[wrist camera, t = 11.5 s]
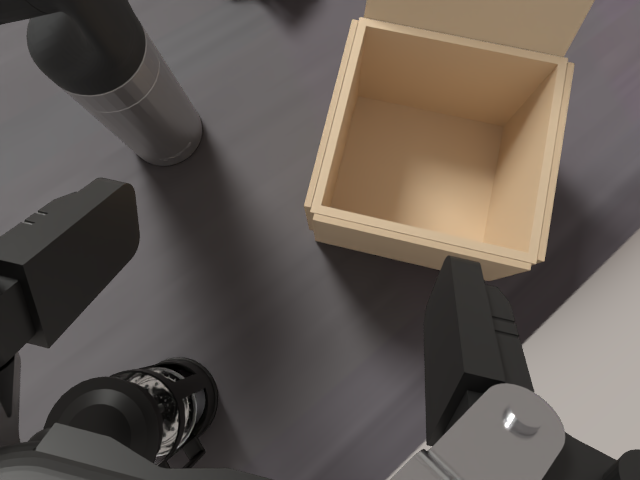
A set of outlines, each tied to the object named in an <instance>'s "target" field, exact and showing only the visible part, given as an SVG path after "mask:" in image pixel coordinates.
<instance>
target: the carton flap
mask: <svg viewBox="0 0 640 480" xmlns="http://www.w3.org/2000/svg"><path fill="white" fill-rule="evenodd" d="M594 1H595V0H367V2H366V8H365V14H364V18H369V19H374V20H379V21H384V22H389V23H394V24H400V25H405V26H410V27H415V28H420V29H425V30H430V31H435V32H440V33H445V34H450V35H455V36H460V37H465V38H470V39H475V40H480V41H485V42H490V43H496V44H501V45H506V46H511V47H516V48H521V49H526V50H531V51H536V52H541V53H546V54H551V55H556V56H561V57H564V55H565V54H566V52H567V50H568V48H569V46H570V44H571V43H572V41H573V39H574V37H575V35H576V34H577V32H578V30H579V28H580V26H581V24H582V23H583V21H584V19H585V17H586V15H587V14H588V12H589V10H590V8H591V6H592V4H593V3H594Z"/></svg>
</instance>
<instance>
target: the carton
mask: <svg viewBox="0 0 640 480" xmlns="http://www.w3.org/2000/svg"><path fill="white" fill-rule="evenodd" d="M567 62H568V58H564V57H559V56H554V55H549V54H544V53H539V52H534V51H529V50H524V49H518V48H513V47H508V46H503V45H498V44H493V43H488V42H483V41H478V40H473V39H468V38H463V37H458V36H453V35H448V34H443V33H438V32H433V31H428V30H423V29H417V28H412V27H407V26H402V25H397V24H392V23H387V22H382V21H377V20H372V19H367V18H362V17H360V18H359V22H358V20H353V19H352V23H351V26H350V30H349V34H348V38H347V42H346V46H345V50H344V53H343V57H342V61H341V65H340V69H339V73H338V77H337V81H336V84H335V88H334V92H333V96H332V100H331V104H330V108H329V111H328V115H327V119H326V123H325V127H324V131H323V135H322V139H321V142H320V146H319V150H318V154H317V158H316V162H315V166H314V170H313V173H312V177H311V181H310V185H309V189H308V193H307V197H306V200H305V204H304V208H305V212H306V216H307V221H308V225H309V229H310V230H314V235H315V241H318V242H322V243H326V244H331V245H335V246H339V247H343V248H348V249H352V250H356V251H360V252H365V253H369V254H373V255H377V256H382V257H386V258H390V259H394V260H399V261H403V262H407V263H411V264H416V265H420V266H424V267H428V268H433V269H437V270H441V267H442V265H443V262H444V260H445V258H446V257H447V256H448V255H450V256H454V257H459V258H463V259H468V260H472V261H477V262H479V263H480V264H481V268H482V273H483V278H484V280H486V281H492V280H496V279H499V278H503V277H507V276H511V275H514V274H518V273H522V272H526V271H529V270H530V269H531V265H534V264H537V263H540V262H544V261H545V255H546V248H547V242H548V235H549V228H550V222H551V215H552V209H553V202H554V195H555V189H556V182H557V176H558V169H559V162H560V156H561V149H562V143H563V136H564V129H565V123H566V116H567V110H568V103H569V97H570V90H571V83H572V77H573V70H574V64H575V63H570V62H568V63H567Z"/></svg>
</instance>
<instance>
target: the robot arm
mask: <svg viewBox="0 0 640 480" xmlns="http://www.w3.org/2000/svg"><path fill="white" fill-rule="evenodd" d="M29 18H30V20H29V23H28V28H27V45H28V49H29V52H30V55H31V57H32V58H33V60H34V62H35V63H36V65H37V66H38V67H39V69H40V70H41V71H42V72H43V73H44V74H45V75H46V76H48V77H49V78H50V79H51V80H52V81H53V82H54V83H56V84H57V85H58V86H59V87H61V88H62V89H63V90H64V91H65V92H66V93H67V94H69V95H70V96H71V97H72V98H73V99H74V100H75V101H77V102H78V103H79V104H80V105H81V106H83V107H84V108H85V109H86V110H87V111H88V112H89V113H91V114H92V115H93V116H94V117H95V118H96V119H97V120H99V121H100V122H101V123H102V124H103V125H104V126H105V127H106V128H108V129H109V130H110V131H111V132H112V133H113V134H114V135H116V136H117V137H118V138H119V139H120V140H121V141H122V142H124V143H125V144H126V145H127V146H128V147H129V148H130V149H131V150H133V151H134V152H135V153H136V154H137V155H138V156H139V157H141V158H142V159H143V160H145V161H146V162H148V163H151V164H153V165H159V166H169V165H173V164H177V163H179V162H181V161H183V160H185V159H186V158H188V157H189V156H190V155H191V154H192V153H193V152H194V151H195V150H196V148H197V146H198V145H199V142H200V140H201V136H202V123H201V120H200V116H199V115H198V113H197V112H196V110H195V108H194V107H193V105H192V104H191V102H190V100H189V98H188V97H187V95H186V94H185V92H184V91H183V89H182V87H181V86H180V84H179V83H178V81H177V80H176V78H175V76H174V75H173V73H172V72H171V70H170V68H169V67H168V65H167V64H166V62H165V61H164V59H163V57H162V56H161V54H160V53H159V51H158V50H157V48H156V46H155V45H154V44H153V42H152V40H151V39H150V37H149V36H148V34H147V33H146V31H145V29H144V28H143V26H142V25H141V23H140V21H139V20H138V18H137V17H136V15H135V14H134V12H133V10H132V8H131V6H130V4H129V2H128V0H0V25H1V24H5V23H11V22H15V21H20V20H25V19H29ZM139 239H140V232H139V224H138V215H137V206H136V197H135V191H134V188H133V186H132V185H131V184H128V183H124V182H119V181H115V180H110V179H106V178H97V179H95V180H94V181H92V182H91V183H90V184H88V185H87V186H85V187H84V188H83V189H81V190H80V191H78V192H74V193H71V194H68V195H65V196H63V197H60V198H57V199H54V200H53V201H51V202H50V203H48V204H47V205H46V206H44V207H43V208H41V209H40V210H38V213H34V214H32V215H31V216H30V217H28V218H27V219H25V222H24V223H22V222H21V223H19V224H18V225H17V226H15V227H14V228H12V229H11V230H9V231H8V232H6V233H5V234H4V235H2V236H1V237H0V480H272V479H268V478H265V477H261V476H257V475H253V474H249V473H246V472H242V471H238V470H234V469H230V468H186V469H167V468H161V467H159V466H156V465H155V464H153V463H152V462H150V461H148V460H147V459H145V458H144V457H142V456H140V455H139V454H137V453H136V452H134V451H132V450H131V449H129V448H128V447H126V446H124V445H123V444H121V443H120V442H118V441H116V440H115V439H113V438H112V437H109V436H105V435H101V434H97V433H93V432H90V431H86V430H82V429H78V428H74V427H71V426H67V425H63V424H59V423H55V424H54V425H53V426H52V428H51V429H50V430H49V431H48V433H47V434H46V435H45V437H44V438H43V439H42V441H31V442H23V443H20V439H19V400H20V372H21V358H20V355H19V352H18V351H19V350H20V349H21V348H22V347H23V346H24V345H25V344H26V343H30V344H34V345H37V346H41V347H45V348H50V347H51V346H52V344H53V343H54V342H55V341H56V340H57V339H58V338H59V337H60V336H61V335H62V334H63V332H64V331H65V330H66V329H67V328H68V327H69V326H70V325H71V324H72V323H73V322H74V321H75V319H76V318H77V317H78V316H79V315H80V314H81V313H82V312H83V311H84V310H85V309H86V307H87V306H88V305H89V304H90V303H91V302H92V301H93V300H94V299H95V298H96V297H97V296H98V294H99V293H100V292H101V291H102V290H103V289H104V288H105V287H106V286H107V285H108V284H109V282H110V281H111V280H112V279H113V278H114V277H115V276H116V275H117V274H118V273H119V272H120V271H121V269H122V268H123V267H124V266H125V265H126V264H127V263H128V262H129V261H130V260H131V259H132V257H133V256H134V254H135V253H136V251H137V248H138V245H139ZM514 322H515V320H514V316H513V312H512V308H511V305H510V303H509V302H508V300H507V299H506V298H505V297H504V295H503V294H502V293H501V291H500V290H499V289H498V287H494V286H489V285H485V282H484V278H483V273H482V268H481V264H480V263H479V262H477V261H472V260H468V259H463V258H459V257H454V256H450V255H448V256H447V257H446V258H445V260H444V262H443V265H442V267H441V270H440V272H439V275H438V278H437V280H436V283H435V285H434V288H433V290H432V293H431V296H430V298H429V301H428V304H427V307H426V311H425V317H424V361H425V401H426V441H427V445H429V446H433V447H432V448H430V449H429V450H428V451H426V450H425V449H423V450H421V451H419V452H418V453H417V454H415V455H414V456H413V457H412V458H411V459H410V460H409V461H408V462H407V463H406V464H405V465H404V466H403V467H402V468H401V469H400V470H399V471H398V472H397V473H396V474H395V475H394V476H393V477H392V478H391V479H390V480H640V450H630V451H628V452H626V453H624V454H623V455H622V456H621V457H620V458H619V459H618V460H615V459H613V458H611V457H609V456H607V455H606V454H603V453H602V452H600V451H598V450H596V449H594V448H592V447H590V446H588V445H586V444H584V443H582V442H580V441H579V440H577V439H575V438H573V437H572V436H570V435H569V434H567V433H566V432H565V431H564V427H563V424H562V422H561V420H560V418H559V416H558V415H557V413H556V412H555V411H554V410H553V408H552V407H551V406H550V405H549V404H548V403H547V402H546V401H545V400H544V399H542V398H541V397H540V396H538V395H537V394H535V393H534V389H533V386H532V382H531V378H530V375H529V371H528V368H527V364H526V360H525V356H524V353H523V349H522V345H521V342H520V339H518V336H519V334H518V331H517V327H516V324H514Z"/></svg>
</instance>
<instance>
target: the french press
mask: <svg viewBox="0 0 640 480" xmlns="http://www.w3.org/2000/svg"><path fill="white" fill-rule="evenodd" d="M174 369H179V370H185V371H188V372H190V373H192V374H193V375H192V376H189V377H186V378H184V377H183V376H181V375H180V374H179V373H177V372H175V371H173V370H174ZM203 388H204V392H205V399H206V401H205V408H204V411H203V414H202V416H201V418H200V419H199V421H198V422H197V423H196V424H195V421H196V415H197V402H196V396H195V393H196V392H198V391H200V390H202V389H203ZM217 405H218V392H217V387H216V384H215V381H214V379H213V377H212V375H211V374H210V373H209V371H208V370H207V369H206V368H205V367H204V366H202V365H201V364H200V363H198V362H196V361H194V360H191V359H188V358H180V357H177V358H170V359H167V360H164V361H161V362H159V363H158V364H155V365H152V366H148V367H144V368H139V369H133V370H127V371H122V372H119V373H116V374H113V375H111V376H110V377H98V378H92V379H89V380H86V381H83V382H81V383H79V384H77V385H76V386H74V387H72V388H71V389H70V390H68V391H67V392H66V393H65V394H64V395H62V396H61V398H60V399H59V400H58V401H57V403H56V404H55V405H54V407H53V408H52V410H51V412H50V413H49V415H48V418H47V420H46V423H45V426H44V429H43V430H41V431H39V432H38V433H36V434H35V435H34V436H32V437H31V438H30V440H29V441H28V442H31V441H42V439H43V438H44V437H45V435H46V434H47V433H48V431H49V430H50V429H51V428H52V426H53V425H54V424H55V423H59V424H63V425H67V426H71V427H74V428H78V429H82V430H86V431H90V432H93V433H97V434H101V435H105V436H109V437H112V438H113V439H115V440H116V441H118V442H120V443H121V444H123V445H124V446H126V447H128V448H129V449H131V450H132V451H134V452H136V453H137V454H139V455H140V456H142V457H144V458H145V459H147V460H148V461H150V462H152V463H154V461H155V458H156V456H162V455H165V454H168V455H167V456H166V457H165V458H164V459H163V460H162V461H160V462H159V463H158V464H157V465H156V466H159V467H161V468H167V469H171V468H170V466H169V465H168V463H167V460H168V459H169V458H171V457H172V456H173V455H174V454H175V453H177V452H178V451H179V450H180V449H181V448H183V450H184V451H185V453H186V455H187V456H188V458H189V460H190V461H189V462H188V463H187V464H186V465H185V466H184V467H183V468H182V469H186V468H191V467H192V466H193V465H194V464H195V463H196V462H197V461H198V460H199V459H200V458H201V457H202V456H203V455H204V454H205V449H204V448H203V446H202V444H201V443H200V441H199V439H198V437H199V436H200V435H201V434H202V433H203V432H205V431H206V429H207V428H208V427H209V425H210V424H211V422H212V420H213V418H214V416H215V413H216V410H217ZM194 424H195V425H194Z"/></svg>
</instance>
